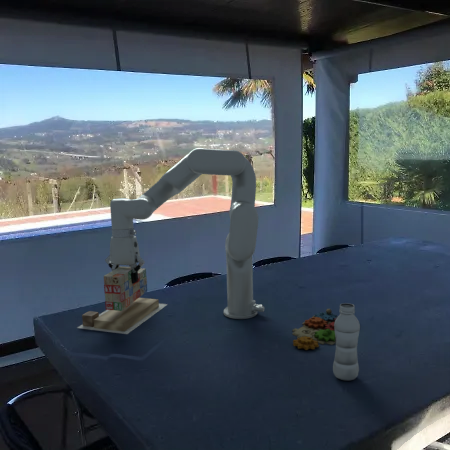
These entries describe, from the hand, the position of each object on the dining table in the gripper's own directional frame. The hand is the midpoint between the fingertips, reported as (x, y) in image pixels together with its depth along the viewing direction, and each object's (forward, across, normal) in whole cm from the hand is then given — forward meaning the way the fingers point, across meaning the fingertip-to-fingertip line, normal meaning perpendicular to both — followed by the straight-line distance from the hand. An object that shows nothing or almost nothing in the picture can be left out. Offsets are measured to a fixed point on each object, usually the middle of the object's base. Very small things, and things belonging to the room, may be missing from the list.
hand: (126, 281), depth 164 cm
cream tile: (+14, +2, -1) cm, 14 cm away
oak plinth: (+13, 0, 0) cm, 13 cm away
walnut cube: (+13, +9, +10) cm, 19 cm away
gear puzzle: (+15, -68, -6) cm, 70 cm away
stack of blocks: (+7, 0, 0) cm, 7 cm away
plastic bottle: (+14, -79, +22) cm, 83 cm away
